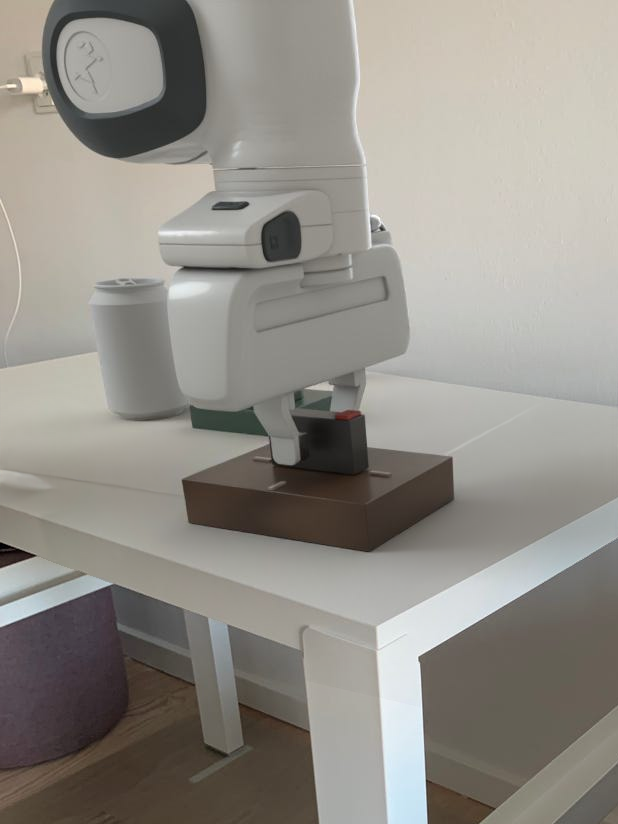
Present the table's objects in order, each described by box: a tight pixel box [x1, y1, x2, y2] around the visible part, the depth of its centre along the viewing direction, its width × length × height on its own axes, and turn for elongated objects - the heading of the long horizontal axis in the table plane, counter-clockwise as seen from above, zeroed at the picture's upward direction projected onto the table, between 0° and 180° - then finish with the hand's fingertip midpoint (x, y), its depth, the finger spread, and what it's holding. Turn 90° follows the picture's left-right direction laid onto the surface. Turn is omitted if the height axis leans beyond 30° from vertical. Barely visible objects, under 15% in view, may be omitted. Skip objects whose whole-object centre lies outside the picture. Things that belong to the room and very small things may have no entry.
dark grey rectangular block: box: [268, 408, 369, 475], centre depth 65 cm, size 6×2×4 cm, turn 64°
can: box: [87, 277, 191, 421], centre depth 92 cm, size 8×8×12 cm
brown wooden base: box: [181, 443, 455, 553], centre depth 67 cm, size 14×11×3 cm
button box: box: [188, 388, 333, 438], centre depth 89 cm, size 10×9×4 cm
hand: (318, 450), depth 65 cm, fingers open, 4 cm apart
